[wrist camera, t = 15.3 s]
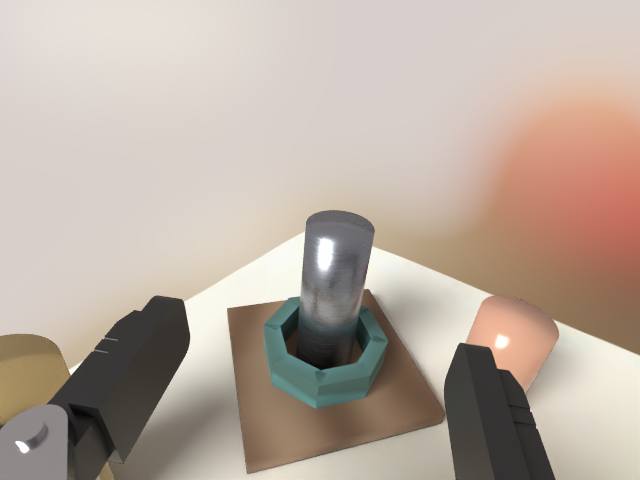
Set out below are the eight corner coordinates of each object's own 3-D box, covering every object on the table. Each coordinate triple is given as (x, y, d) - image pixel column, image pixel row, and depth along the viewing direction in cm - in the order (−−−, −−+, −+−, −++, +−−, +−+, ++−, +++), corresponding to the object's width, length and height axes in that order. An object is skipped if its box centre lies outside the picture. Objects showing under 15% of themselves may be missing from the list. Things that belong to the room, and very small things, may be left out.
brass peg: (122, 449, 24) (76, 325, 18) (107, 554, 19) (39, 434, 14) (19, 472, 22) (-68, 344, 17) (-23, 591, 18) (-163, 475, 12)
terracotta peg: (488, 362, 32) (521, 291, 28) (530, 413, 28) (576, 340, 24) (438, 372, 31) (465, 300, 27) (475, 428, 27) (514, 353, 23)
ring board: (366, 298, 38) (372, 269, 36) (440, 423, 27) (454, 391, 25) (227, 318, 34) (225, 287, 32) (247, 474, 23) (245, 440, 21)
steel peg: (339, 331, 32) (358, 208, 26) (358, 372, 29) (386, 240, 23) (290, 339, 31) (298, 212, 25) (304, 383, 28) (317, 247, 21)
